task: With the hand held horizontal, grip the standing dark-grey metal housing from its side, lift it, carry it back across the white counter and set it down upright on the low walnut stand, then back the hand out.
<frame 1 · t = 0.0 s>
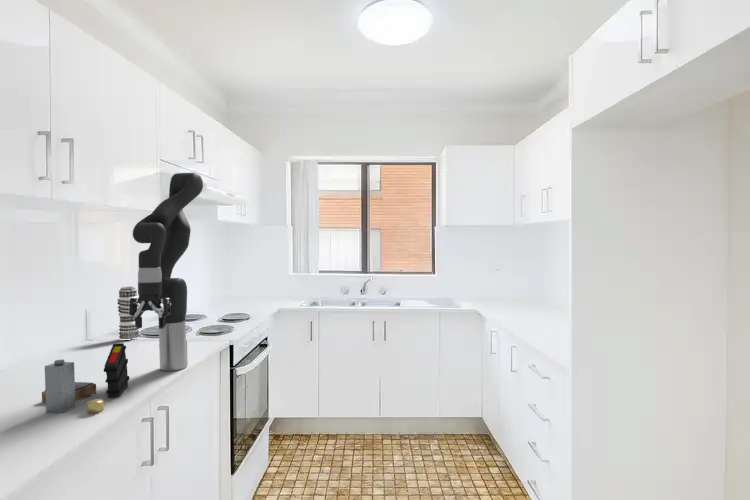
hand: (150, 328, 174), 17 cm above the counter, tool pointing down, fingers open, 8 cm apart
decorative candle: (129, 339, 242), on the counter
black ridged block: (117, 394, 158), on the counter
housing: (61, 409, 144), on the counter
stand: (69, 397, 155), on the counter
short brass cylinder: (95, 411, 142), on the counter
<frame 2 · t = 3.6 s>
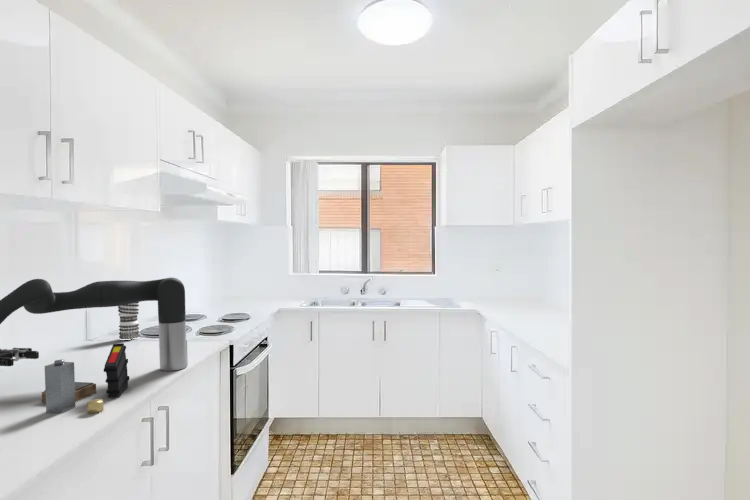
hand: (25, 358, 145), 14 cm above the counter, tool horizontal, fingers open, 8 cm apart
nothing on the counter moved.
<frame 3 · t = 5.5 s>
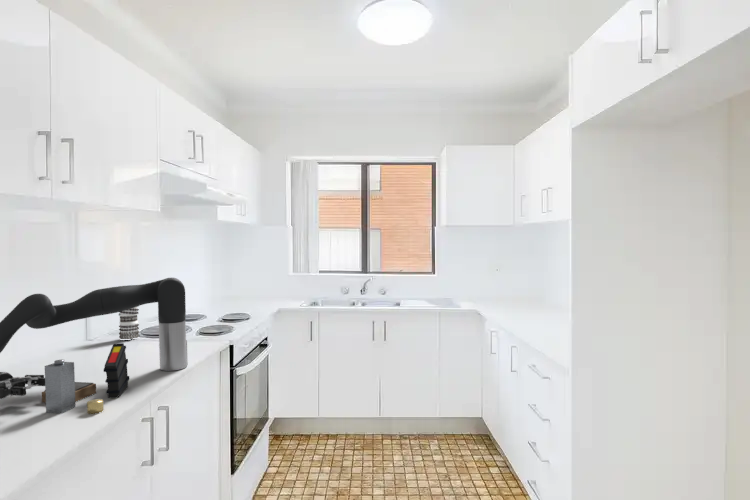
hand: (37, 386, 144), 7 cm above the counter, tool horizontal, fingers open, 8 cm apart
nothing on the counter moved.
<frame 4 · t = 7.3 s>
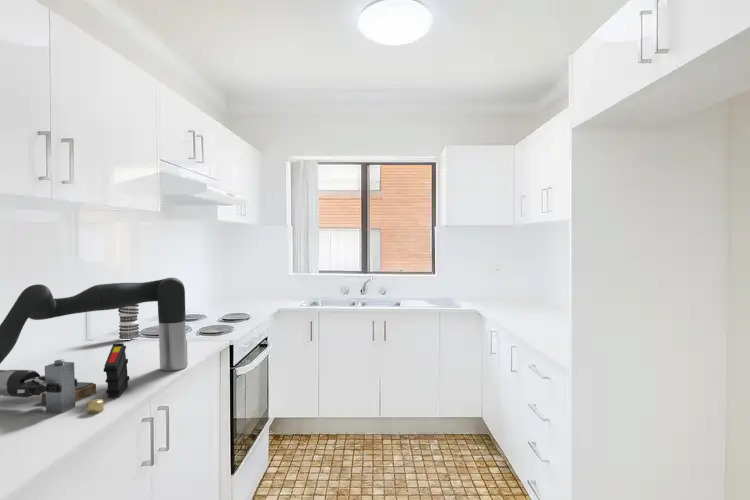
hand: (68, 385, 143), 7 cm above the counter, tool horizontal, fingers closed on housing, 5 cm apart
housing: (61, 409, 144), on the counter, touching gripper
everything else where it was.
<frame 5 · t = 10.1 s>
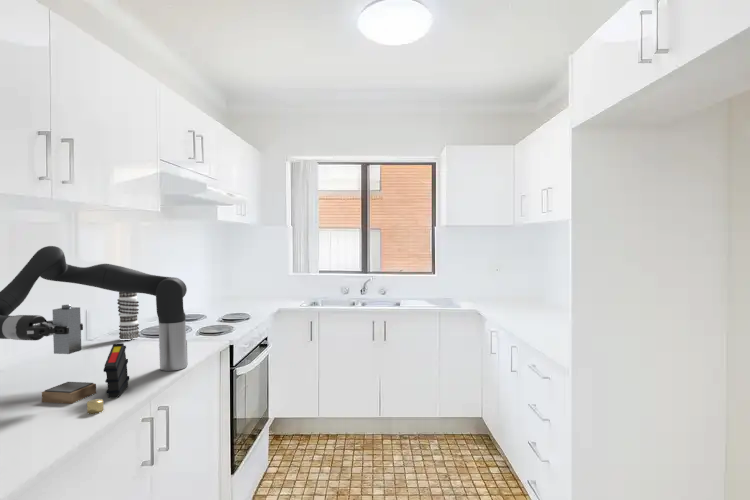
hand: (74, 328, 151), 22 cm above the counter, tool horizontal, fingers closed on housing, 5 cm apart
housing: (67, 351, 152), point 15 cm above the counter, touching gripper
everything else where it was.
when the fingers open (11 cm above the counter, at t = 12.7 s): housing stays where it is, resting on stand.
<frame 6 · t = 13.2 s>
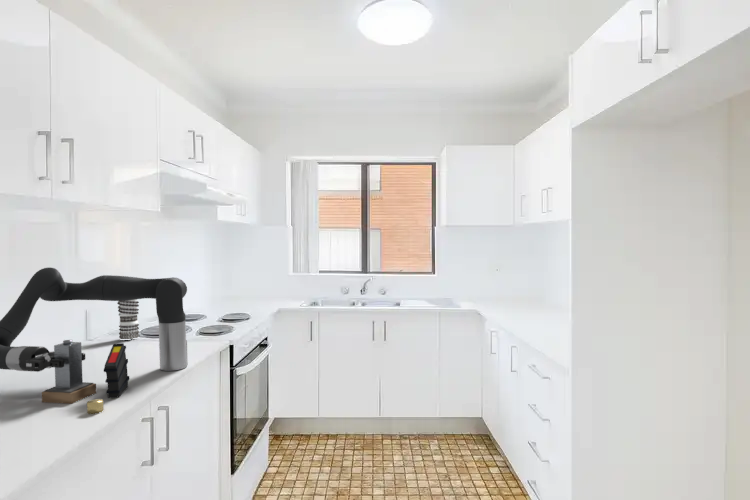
hand: (74, 360, 154), 12 cm above the counter, tool horizontal, fingers open, 8 cm apart
housing: (69, 386, 155), point 3 cm above the counter, touching stand
everything else where it was.
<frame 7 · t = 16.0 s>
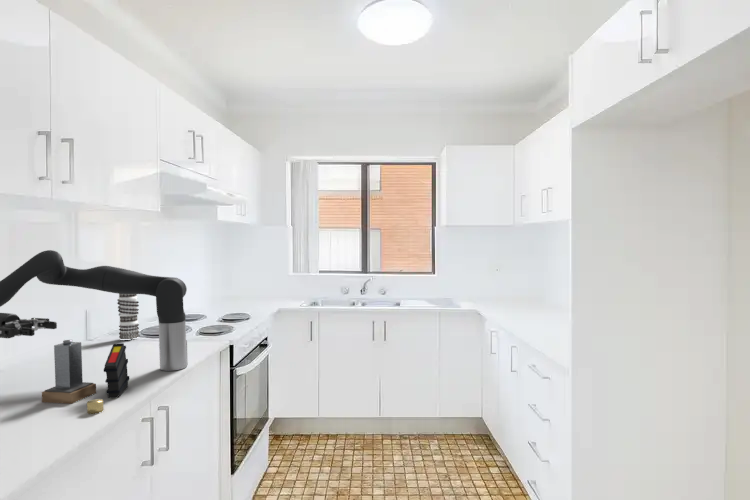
hand: (44, 328, 154), 21 cm above the counter, tool horizontal, fingers open, 8 cm apart
nothing on the counter moved.
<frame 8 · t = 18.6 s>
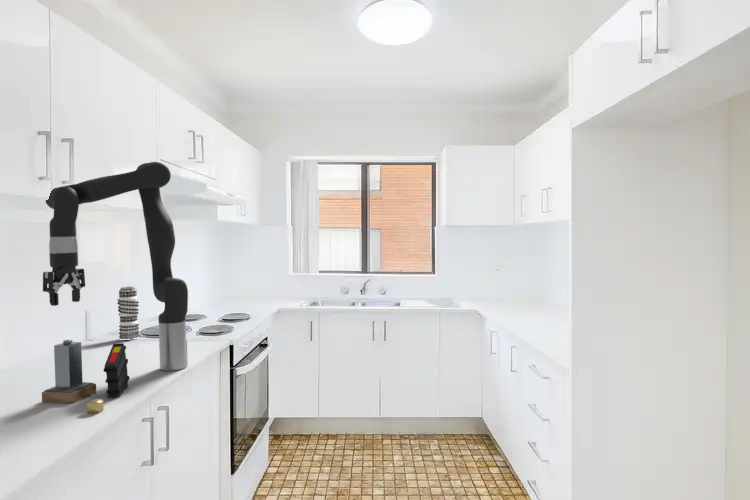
hand: (65, 303, 158), 28 cm above the counter, tool pointing down, fingers open, 8 cm apart
nothing on the counter moved.
at the end: housing inside the target area on the stand (0.2 cm from its centre), point 3.4 cm above the stand's base; housing tilted 0°; the gripper is holding nothing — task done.
